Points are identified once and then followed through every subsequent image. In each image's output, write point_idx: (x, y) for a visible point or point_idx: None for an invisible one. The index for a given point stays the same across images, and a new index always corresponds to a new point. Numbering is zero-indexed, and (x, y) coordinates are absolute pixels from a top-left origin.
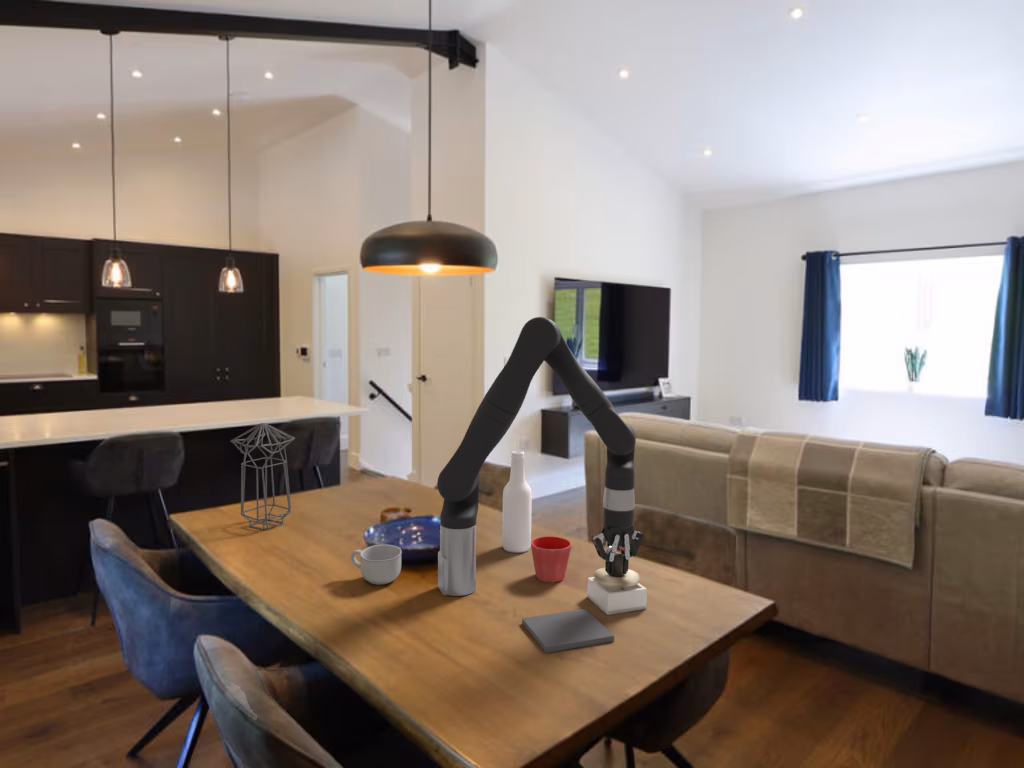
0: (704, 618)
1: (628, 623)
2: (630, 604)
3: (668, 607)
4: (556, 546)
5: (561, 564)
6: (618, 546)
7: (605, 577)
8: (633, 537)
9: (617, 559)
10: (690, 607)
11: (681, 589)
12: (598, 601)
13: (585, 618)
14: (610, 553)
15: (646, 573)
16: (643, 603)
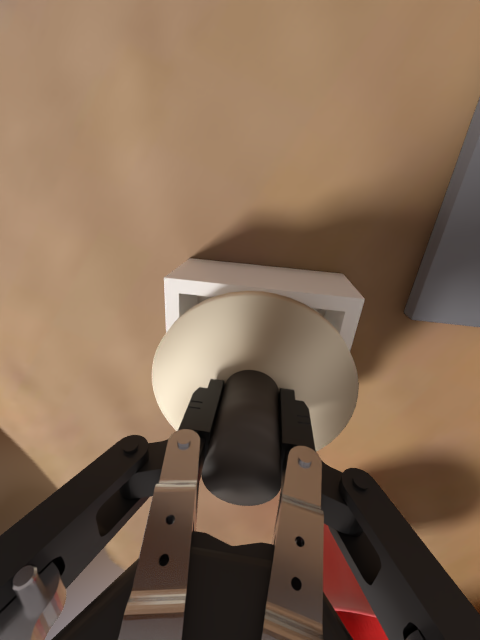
0: (19, 94)
1: (319, 182)
2: (250, 270)
3: (111, 236)
4: None
5: (330, 539)
6: (244, 546)
7: (316, 394)
8: (53, 603)
9: (263, 446)
10: (36, 203)
11: (16, 325)
12: None
13: (477, 252)
14: (320, 502)
15: (74, 435)
16: (195, 264)
